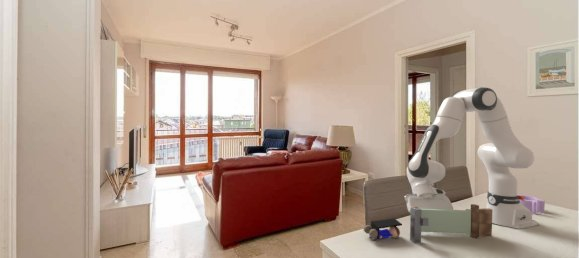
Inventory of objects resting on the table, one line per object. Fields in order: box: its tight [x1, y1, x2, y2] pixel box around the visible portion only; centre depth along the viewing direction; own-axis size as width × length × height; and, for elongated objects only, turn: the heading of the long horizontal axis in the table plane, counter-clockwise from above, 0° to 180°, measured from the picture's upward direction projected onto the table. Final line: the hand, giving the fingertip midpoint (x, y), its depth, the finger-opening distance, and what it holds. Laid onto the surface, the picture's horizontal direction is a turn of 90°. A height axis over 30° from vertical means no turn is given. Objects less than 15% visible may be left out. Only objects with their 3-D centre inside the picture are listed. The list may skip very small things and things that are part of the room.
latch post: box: [409, 207, 429, 244], centre depth 110 cm, size 6×4×14 cm
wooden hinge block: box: [469, 203, 493, 239], centre depth 115 cm, size 10×3×14 cm, turn 98°
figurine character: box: [363, 217, 403, 242], centre depth 114 cm, size 7×8×15 cm
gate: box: [412, 206, 471, 236], centre depth 116 cm, size 24×2×12 cm, turn 84°
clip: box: [517, 193, 546, 215], centre depth 151 cm, size 20×12×7 cm, turn 16°
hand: (435, 222), depth 118 cm, fingers closed
